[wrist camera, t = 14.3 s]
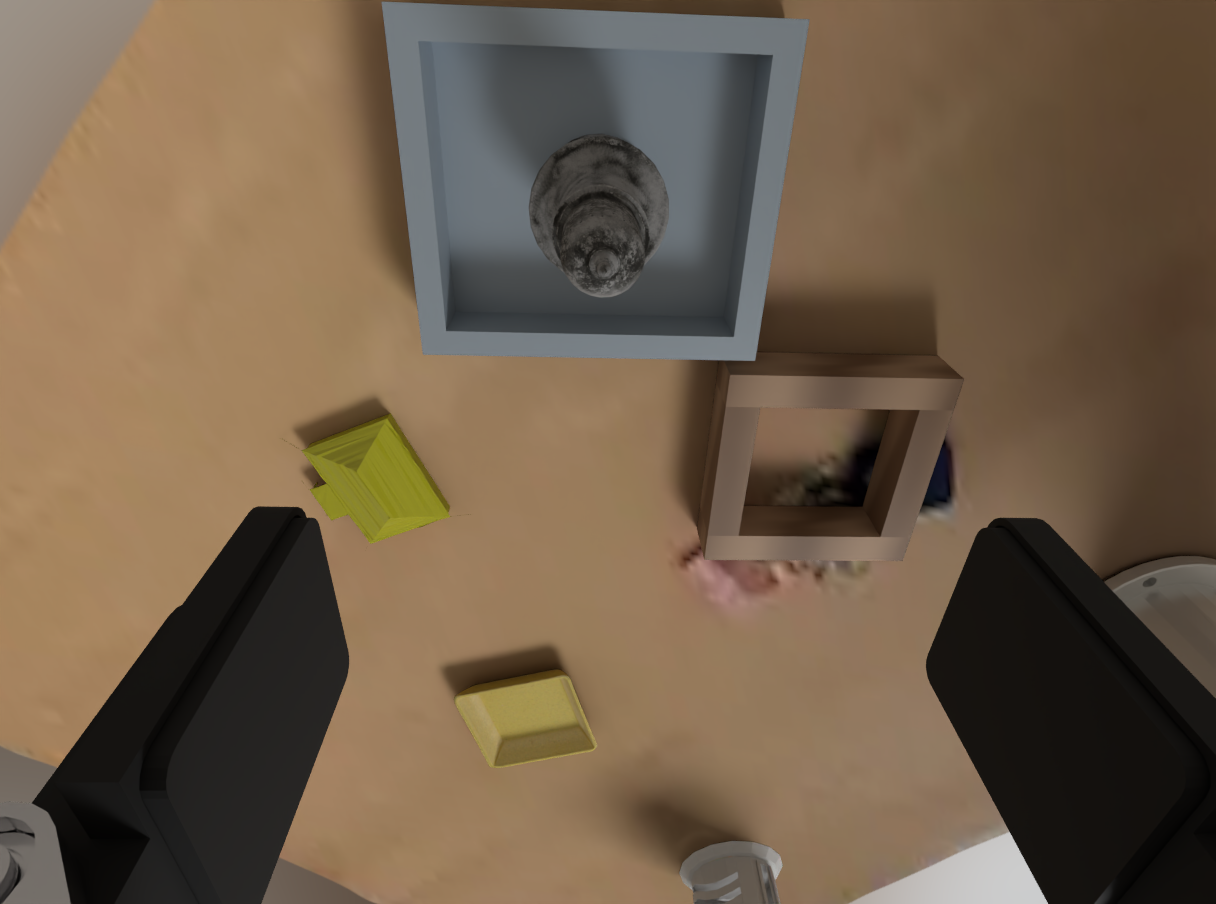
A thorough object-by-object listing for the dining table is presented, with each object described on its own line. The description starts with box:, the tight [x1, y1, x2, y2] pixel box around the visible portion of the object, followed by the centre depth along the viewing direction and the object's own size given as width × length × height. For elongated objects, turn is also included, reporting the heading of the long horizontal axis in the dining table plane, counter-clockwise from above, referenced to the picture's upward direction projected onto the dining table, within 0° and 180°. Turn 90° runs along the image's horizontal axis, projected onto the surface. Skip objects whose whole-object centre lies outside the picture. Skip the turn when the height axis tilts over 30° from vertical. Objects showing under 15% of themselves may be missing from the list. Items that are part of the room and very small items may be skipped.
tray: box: [382, 2, 810, 361], centre depth 30 cm, size 16×14×4 cm
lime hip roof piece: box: [284, 413, 469, 549], centre depth 39 cm, size 10×9×3 cm
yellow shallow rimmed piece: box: [454, 669, 597, 768], centre depth 50 cm, size 9×9×2 cm
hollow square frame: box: [697, 352, 964, 561], centre depth 38 cm, size 12×12×3 cm
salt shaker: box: [529, 134, 669, 298], centre depth 26 cm, size 6×6×12 cm
